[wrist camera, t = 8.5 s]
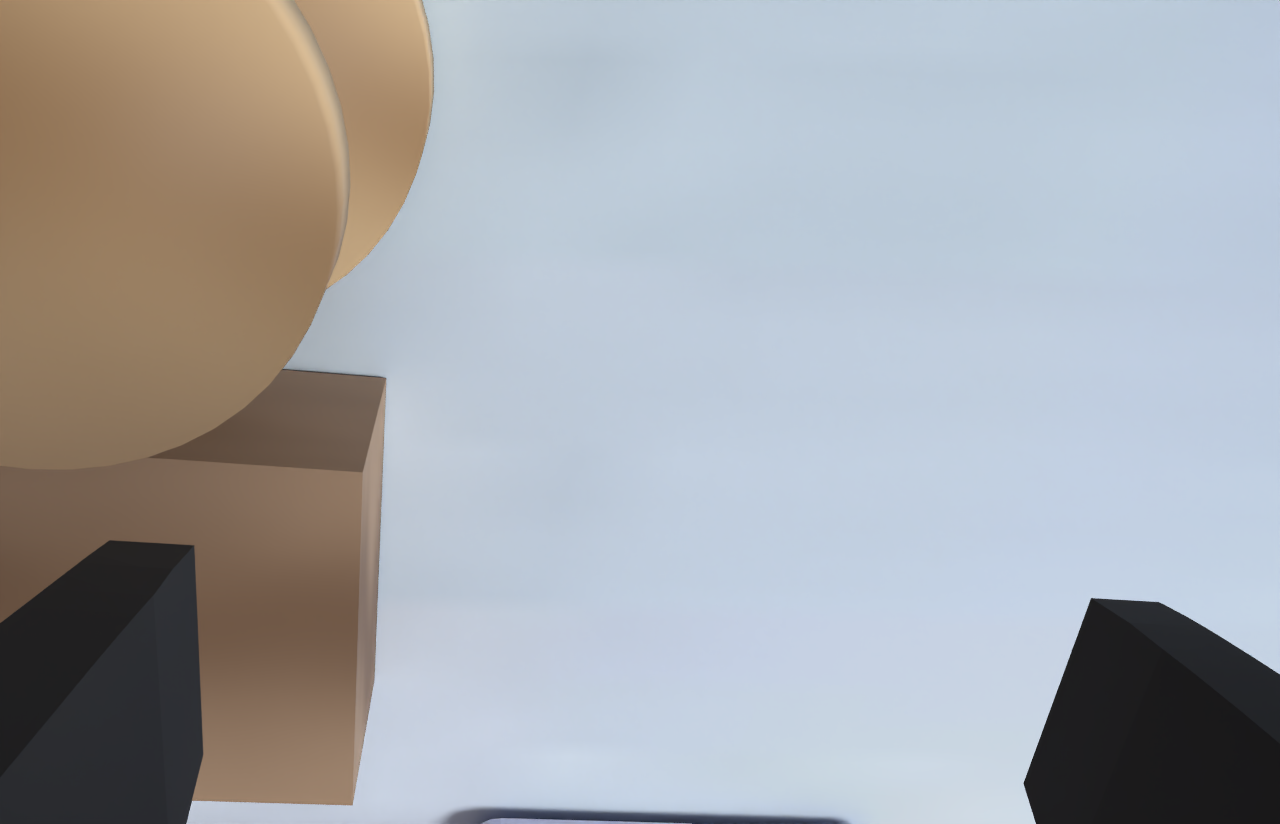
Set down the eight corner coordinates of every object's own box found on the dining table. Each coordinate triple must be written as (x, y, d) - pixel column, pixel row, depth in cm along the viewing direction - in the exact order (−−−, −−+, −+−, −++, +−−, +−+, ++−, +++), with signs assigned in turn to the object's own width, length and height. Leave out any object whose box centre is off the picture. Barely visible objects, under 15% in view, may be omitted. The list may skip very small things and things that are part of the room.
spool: (421, 321, 18) (378, 532, 12) (-66, 279, 17) (-338, 488, 12) (448, -186, 15) (405, -194, 9) (-145, -273, 14) (-563, -337, 8)
